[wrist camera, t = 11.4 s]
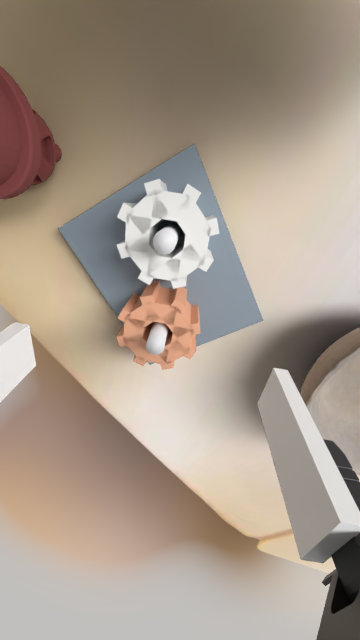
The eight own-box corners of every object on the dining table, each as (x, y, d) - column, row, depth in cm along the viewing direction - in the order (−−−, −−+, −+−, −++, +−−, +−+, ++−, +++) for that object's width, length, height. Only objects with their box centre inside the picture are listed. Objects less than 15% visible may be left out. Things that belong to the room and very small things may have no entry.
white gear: (180, 163, 24) (176, 153, 19) (229, 242, 27) (237, 250, 22) (113, 223, 27) (95, 227, 22) (165, 288, 30) (159, 304, 25)
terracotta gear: (131, 275, 30) (119, 288, 25) (205, 289, 30) (207, 305, 25) (125, 338, 34) (114, 361, 29) (190, 350, 34) (190, 374, 29)
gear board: (194, 146, 25) (195, 116, 16) (260, 315, 33) (283, 354, 24) (64, 227, 29) (10, 236, 20) (151, 358, 37) (138, 404, 29)
